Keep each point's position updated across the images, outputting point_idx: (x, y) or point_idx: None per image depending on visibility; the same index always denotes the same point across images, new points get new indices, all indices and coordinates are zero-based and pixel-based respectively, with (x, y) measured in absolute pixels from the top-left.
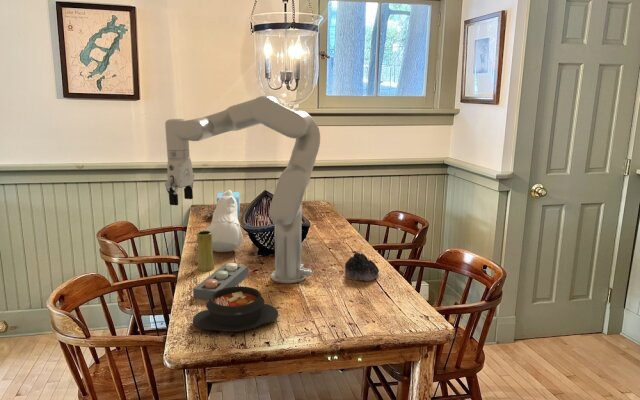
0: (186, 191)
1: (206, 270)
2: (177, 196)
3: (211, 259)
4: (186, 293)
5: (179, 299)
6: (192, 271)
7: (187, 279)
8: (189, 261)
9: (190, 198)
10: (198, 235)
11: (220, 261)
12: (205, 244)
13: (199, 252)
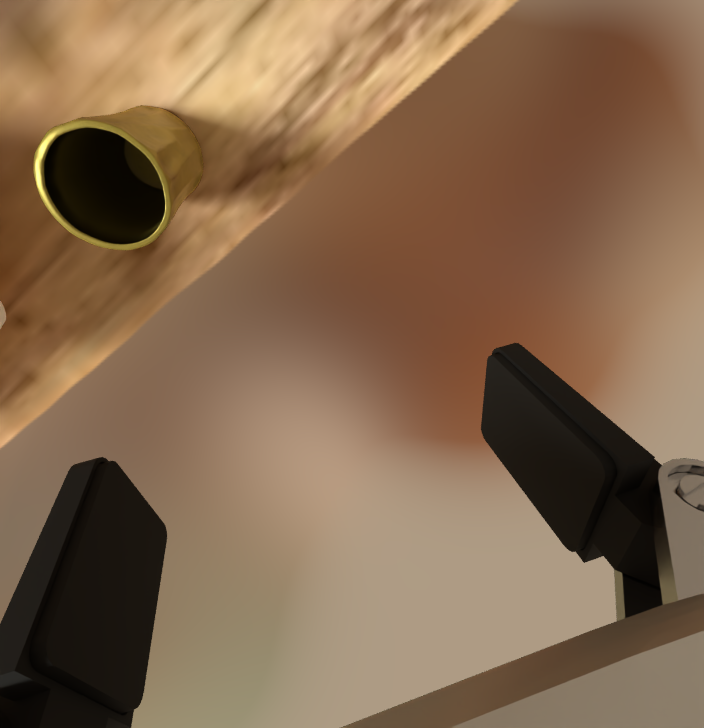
0: (126, 630)
1: (185, 124)
2: (599, 427)
3: (136, 111)
4: (445, 19)
5: (507, 3)
6: (230, 194)
7: (315, 143)
8: (149, 297)
9: (119, 476)
10: (172, 205)
11: (18, 154)
12: (155, 137)
13: (189, 178)
